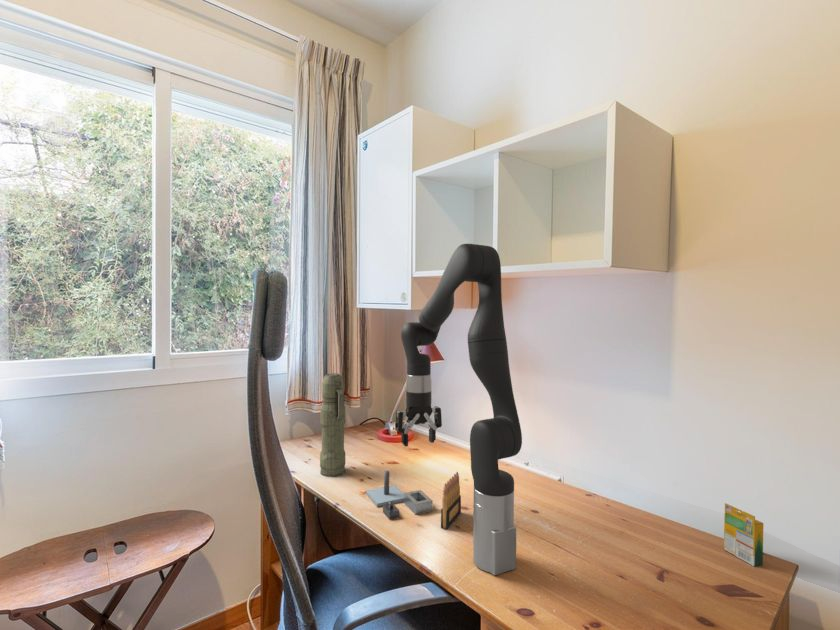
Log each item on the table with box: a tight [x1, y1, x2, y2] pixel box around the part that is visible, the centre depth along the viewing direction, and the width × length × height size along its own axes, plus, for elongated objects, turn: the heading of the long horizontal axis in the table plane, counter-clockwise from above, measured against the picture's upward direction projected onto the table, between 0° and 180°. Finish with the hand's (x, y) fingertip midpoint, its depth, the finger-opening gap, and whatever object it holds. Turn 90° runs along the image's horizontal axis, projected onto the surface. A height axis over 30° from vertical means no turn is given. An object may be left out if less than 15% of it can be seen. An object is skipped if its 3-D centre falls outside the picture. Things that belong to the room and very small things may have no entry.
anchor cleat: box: [382, 501, 400, 520], centre depth 120 cm, size 5×3×4 cm, turn 26°
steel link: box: [403, 489, 433, 515], centre depth 125 cm, size 8×6×3 cm
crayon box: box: [723, 502, 764, 567], centre depth 101 cm, size 7×3×12 cm, turn 17°
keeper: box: [365, 470, 405, 508], centre depth 132 cm, size 10×10×8 cm
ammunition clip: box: [440, 471, 462, 530], centre depth 118 cm, size 11×2×12 cm, turn 154°
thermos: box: [319, 373, 346, 478], centre depth 151 cm, size 9×12×35 cm
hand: (418, 443), depth 126 cm, fingers open, 8 cm apart
